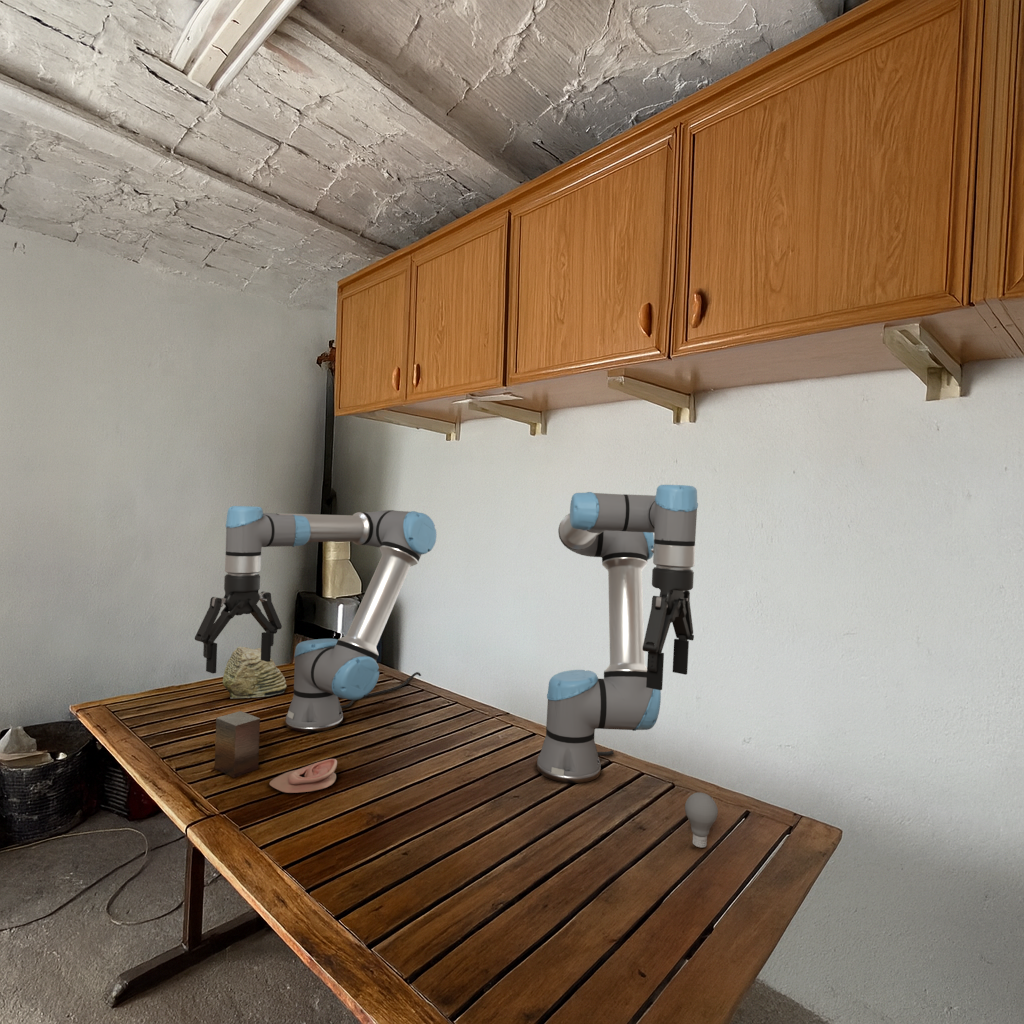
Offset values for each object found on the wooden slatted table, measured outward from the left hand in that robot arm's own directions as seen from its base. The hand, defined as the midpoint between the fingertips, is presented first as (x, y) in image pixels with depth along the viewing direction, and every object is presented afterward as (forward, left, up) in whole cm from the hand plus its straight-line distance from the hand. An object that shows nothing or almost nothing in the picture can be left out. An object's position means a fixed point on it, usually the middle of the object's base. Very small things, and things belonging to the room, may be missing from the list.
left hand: (239, 666), depth 145 cm
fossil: (-31, -46, -24) cm, 60 cm away
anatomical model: (-7, +17, -24) cm, 30 cm away
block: (0, 0, -24) cm, 24 cm away
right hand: (-37, +88, +8) cm, 95 cm away
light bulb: (-43, +93, -24) cm, 105 cm away
